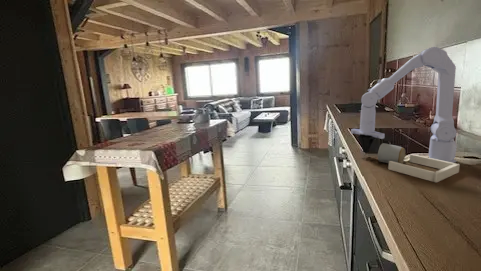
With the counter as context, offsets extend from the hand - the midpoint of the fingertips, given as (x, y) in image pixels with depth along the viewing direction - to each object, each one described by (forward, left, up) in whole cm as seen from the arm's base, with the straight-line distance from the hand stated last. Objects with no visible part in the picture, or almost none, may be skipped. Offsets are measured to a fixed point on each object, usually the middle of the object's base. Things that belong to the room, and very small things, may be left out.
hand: (365, 152), depth 114 cm
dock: (0, +22, -2) cm, 22 cm away
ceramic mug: (-1, +11, -2) cm, 11 cm away
